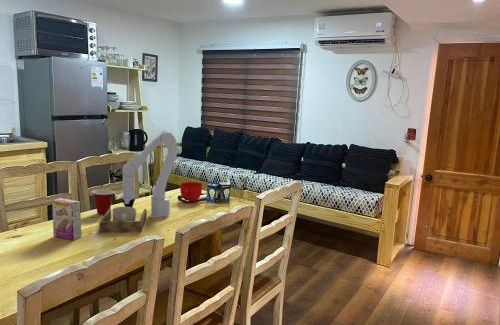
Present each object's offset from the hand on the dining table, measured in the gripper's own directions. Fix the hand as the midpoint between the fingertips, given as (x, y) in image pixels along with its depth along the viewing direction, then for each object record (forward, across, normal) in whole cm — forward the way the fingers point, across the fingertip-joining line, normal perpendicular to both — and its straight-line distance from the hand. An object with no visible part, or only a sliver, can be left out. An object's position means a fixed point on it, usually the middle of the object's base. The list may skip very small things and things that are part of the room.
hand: (129, 213), depth 200 cm
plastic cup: (+2, -5, -14) cm, 15 cm away
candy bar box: (+2, +28, -22) cm, 35 cm away
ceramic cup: (+2, -26, +31) cm, 40 cm away
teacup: (+2, +15, 0) cm, 15 cm away
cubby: (+1, +13, 0) cm, 13 cm away
